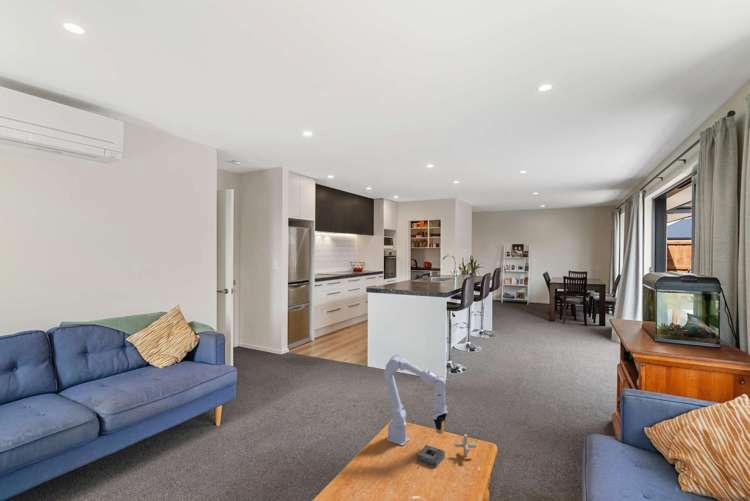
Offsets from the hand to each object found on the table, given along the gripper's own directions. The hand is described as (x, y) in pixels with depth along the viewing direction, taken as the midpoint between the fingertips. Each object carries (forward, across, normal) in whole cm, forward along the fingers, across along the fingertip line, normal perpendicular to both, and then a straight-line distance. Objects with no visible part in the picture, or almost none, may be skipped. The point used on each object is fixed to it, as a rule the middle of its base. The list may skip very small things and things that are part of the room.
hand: (439, 427), depth 183 cm
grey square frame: (+9, -13, -1) cm, 16 cm away
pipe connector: (+10, -1, -14) cm, 17 cm away
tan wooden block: (+2, 0, 0) cm, 2 cm away
